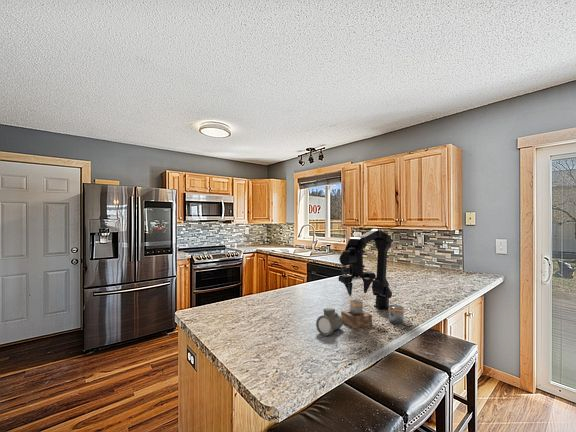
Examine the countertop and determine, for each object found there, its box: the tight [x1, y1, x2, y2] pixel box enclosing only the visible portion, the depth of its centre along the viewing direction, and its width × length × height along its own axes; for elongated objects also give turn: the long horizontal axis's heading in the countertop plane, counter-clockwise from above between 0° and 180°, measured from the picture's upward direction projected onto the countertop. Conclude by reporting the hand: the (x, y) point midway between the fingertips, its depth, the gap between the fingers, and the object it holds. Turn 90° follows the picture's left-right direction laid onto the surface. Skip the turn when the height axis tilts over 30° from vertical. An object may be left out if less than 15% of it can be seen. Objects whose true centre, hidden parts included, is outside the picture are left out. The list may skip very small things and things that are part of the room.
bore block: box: [340, 309, 373, 329], centre depth 130 cm, size 10×10×4 cm
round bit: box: [388, 304, 405, 326], centre depth 131 cm, size 7×7×7 cm
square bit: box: [349, 299, 364, 316], centre depth 130 cm, size 4×4×9 cm
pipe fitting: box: [315, 307, 344, 337], centre depth 120 cm, size 12×8×10 cm
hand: (357, 294), depth 136 cm, fingers open, 9 cm apart
